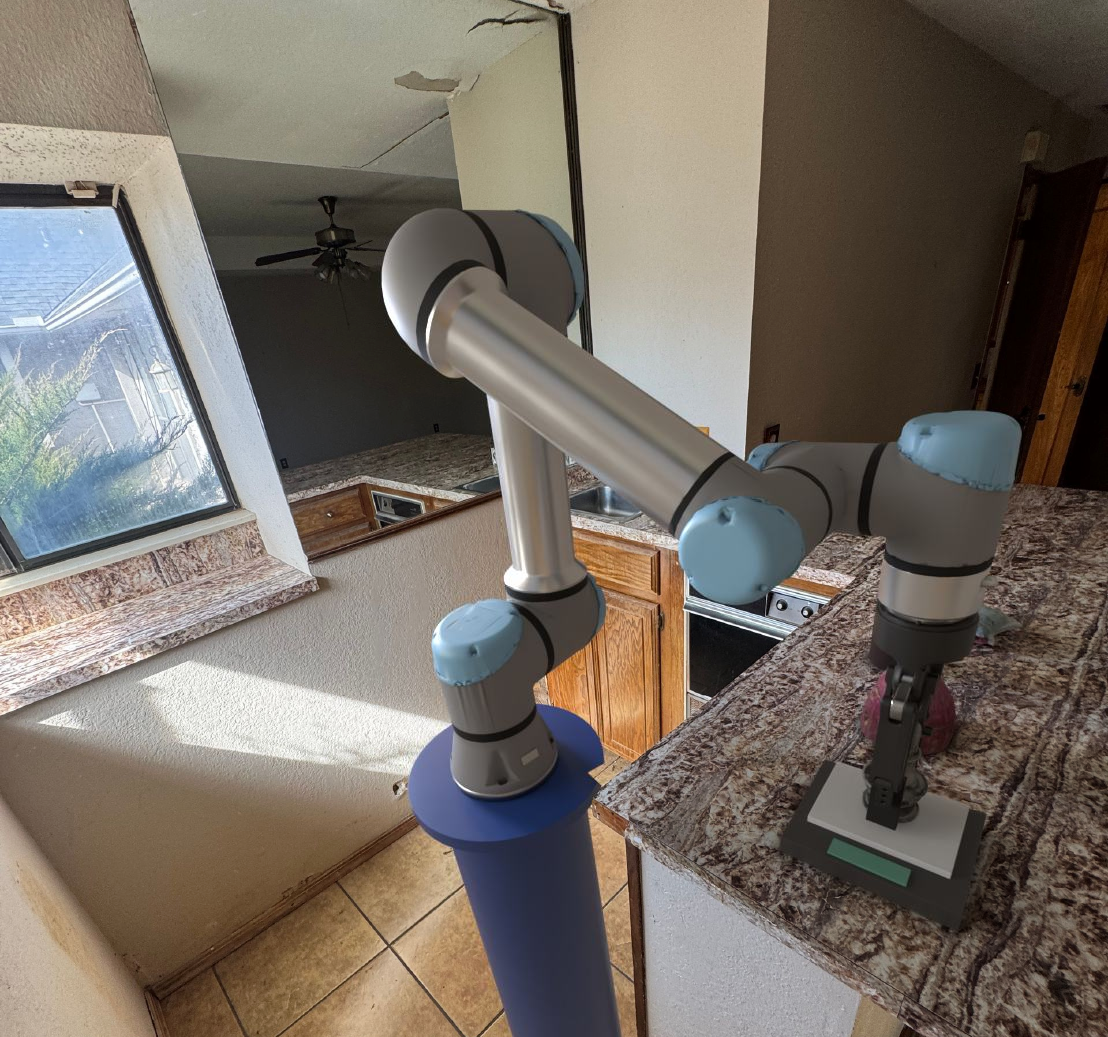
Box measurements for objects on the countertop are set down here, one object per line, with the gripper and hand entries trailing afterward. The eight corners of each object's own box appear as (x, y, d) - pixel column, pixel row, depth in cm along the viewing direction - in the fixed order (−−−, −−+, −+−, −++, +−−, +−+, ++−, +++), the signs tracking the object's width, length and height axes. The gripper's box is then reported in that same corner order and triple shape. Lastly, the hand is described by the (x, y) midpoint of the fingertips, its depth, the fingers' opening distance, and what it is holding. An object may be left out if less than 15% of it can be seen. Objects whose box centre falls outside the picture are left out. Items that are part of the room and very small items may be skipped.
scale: (779, 851, 61) (781, 831, 60) (823, 772, 70) (825, 754, 69) (957, 931, 51) (964, 910, 50) (982, 828, 60) (988, 808, 59)
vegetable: (943, 780, 70) (991, 707, 60) (851, 752, 75) (881, 679, 64) (949, 715, 76) (993, 639, 66) (864, 693, 81) (893, 617, 70)
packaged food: (941, 611, 98) (946, 585, 96) (1020, 635, 89) (1028, 607, 87) (910, 628, 95) (915, 602, 93) (988, 656, 86) (996, 628, 83)
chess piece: (934, 806, 59) (957, 713, 53) (901, 835, 56) (921, 740, 50) (879, 775, 63) (895, 686, 57) (846, 801, 61) (859, 710, 55)
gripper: (959, 670, 40) (908, 885, 51) (997, 570, 52) (949, 761, 63) (846, 645, 45) (821, 847, 56) (904, 559, 57) (875, 739, 68)
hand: (889, 801), depth 60 cm, fingers closed on chess piece, 6 cm apart
